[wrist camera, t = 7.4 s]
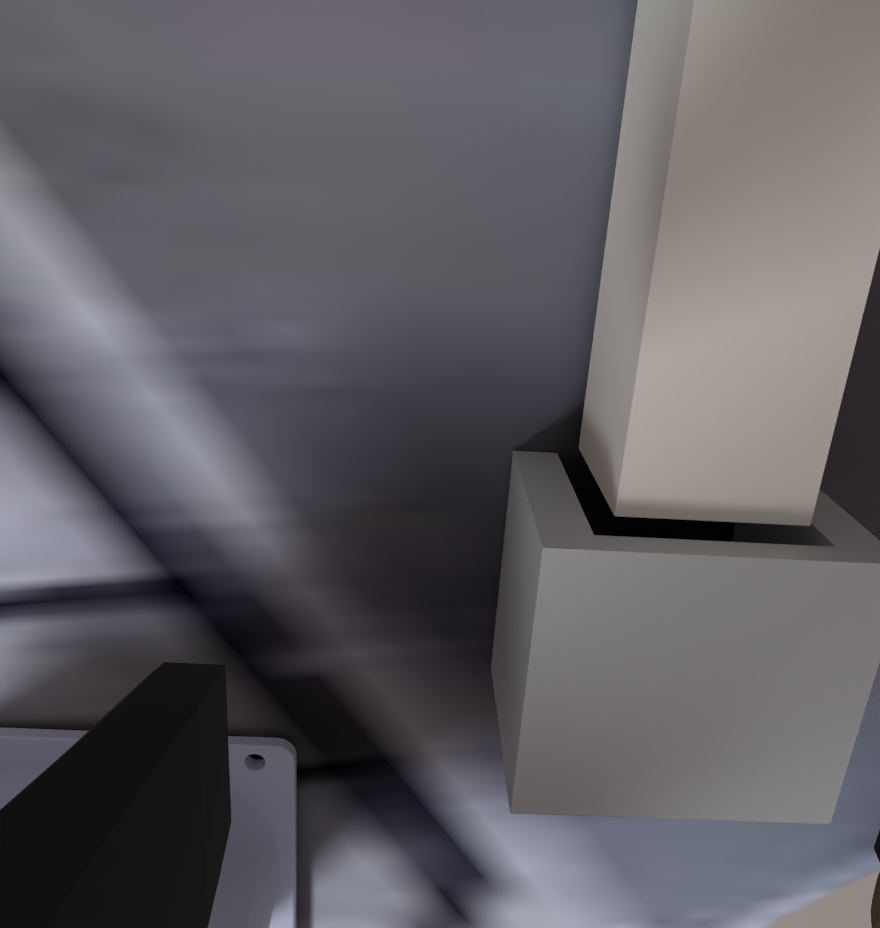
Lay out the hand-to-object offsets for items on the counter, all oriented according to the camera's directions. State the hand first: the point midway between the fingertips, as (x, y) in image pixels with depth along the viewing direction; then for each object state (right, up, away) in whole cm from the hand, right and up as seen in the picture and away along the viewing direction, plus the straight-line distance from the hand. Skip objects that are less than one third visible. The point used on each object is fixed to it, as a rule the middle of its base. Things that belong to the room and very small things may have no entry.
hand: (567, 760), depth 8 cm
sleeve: (+3, +1, +11) cm, 11 cm away
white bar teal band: (+4, +9, +8) cm, 12 cm away
